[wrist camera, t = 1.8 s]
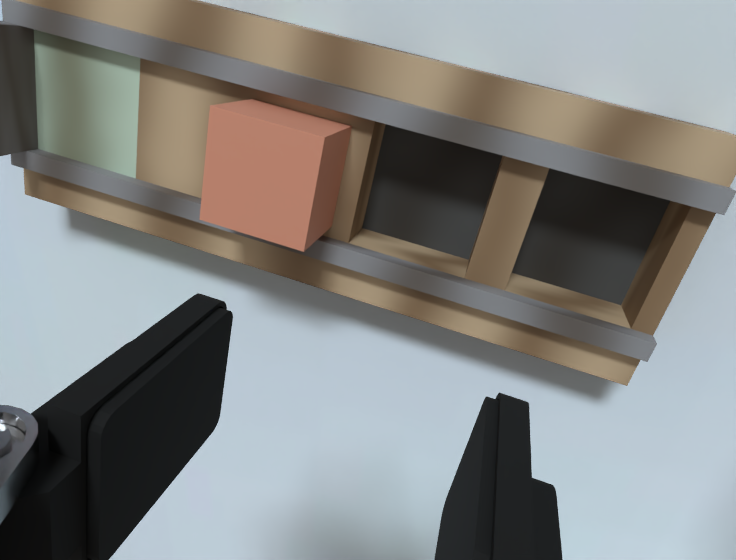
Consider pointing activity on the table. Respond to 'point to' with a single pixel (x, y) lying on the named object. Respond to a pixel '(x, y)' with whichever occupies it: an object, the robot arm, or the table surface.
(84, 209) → the track
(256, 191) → the block
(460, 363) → the table surface
